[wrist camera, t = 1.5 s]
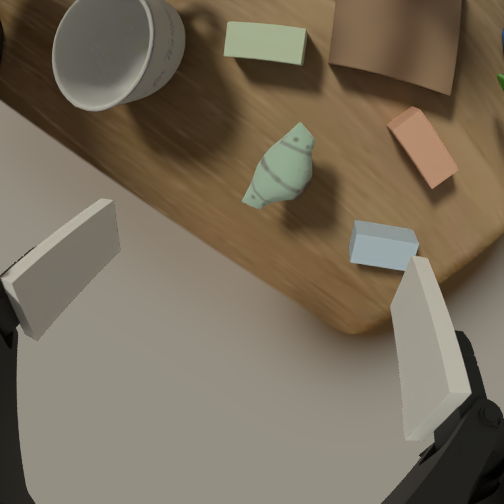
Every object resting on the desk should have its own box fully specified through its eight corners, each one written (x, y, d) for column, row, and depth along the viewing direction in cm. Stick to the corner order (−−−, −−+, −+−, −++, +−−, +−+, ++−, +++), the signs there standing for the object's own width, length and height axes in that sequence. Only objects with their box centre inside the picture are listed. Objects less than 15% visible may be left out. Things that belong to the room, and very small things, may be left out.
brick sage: (234, 57, 24) (223, 55, 21) (237, 26, 22) (227, 21, 20) (303, 66, 23) (300, 64, 21) (308, 33, 22) (305, 28, 19)
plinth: (328, 63, 22) (328, 62, 20) (341, -55, 16) (342, -65, 14) (440, 93, 21) (450, 96, 19) (452, -23, 15) (462, -29, 12)
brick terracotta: (385, 124, 24) (392, 130, 22) (411, 105, 23) (420, 109, 20) (422, 177, 26) (431, 189, 23) (447, 160, 24) (458, 169, 22)
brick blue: (349, 245, 31) (350, 262, 29) (354, 218, 29) (356, 233, 27) (404, 254, 30) (409, 271, 28) (412, 229, 28) (419, 244, 26)
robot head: (297, 109, 25) (289, 119, 20) (336, 137, 26) (339, 156, 20) (248, 178, 29) (227, 206, 24) (283, 203, 30) (271, 237, 24)
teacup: (157, 119, 28) (108, 137, 22) (86, 67, 26) (32, 76, 20) (243, 2, 21) (212, -22, 14) (156, -43, 19) (108, -65, 12)
